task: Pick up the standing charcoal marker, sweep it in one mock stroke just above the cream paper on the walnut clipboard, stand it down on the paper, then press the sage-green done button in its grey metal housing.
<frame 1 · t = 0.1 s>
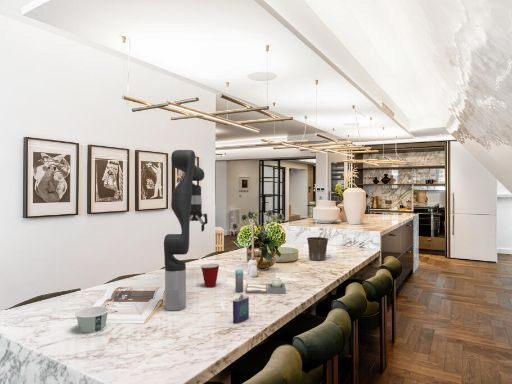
hand: (195, 231, 209), 29 cm above the kitchen island, fingers open, 8 cm apart
done button: (276, 284, 189), point 3 cm above the kitchen island, slide at 0.0 cm
plastic cup: (210, 286, 200), on the kitchen island
food container: (92, 328, 140), on the kitchen island
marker: (239, 291, 189), on the kitchen island
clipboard: (256, 289, 194), on the kitchen island
plant pot: (317, 259, 275), on the kitchen island
button housing: (276, 291, 190), on the kitchen island
flask: (241, 320, 148), on the kitchen island
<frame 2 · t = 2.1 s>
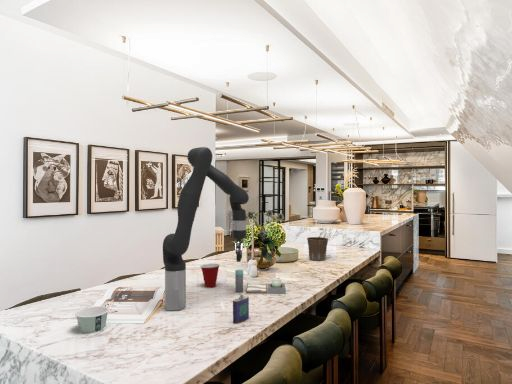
hand: (239, 259, 189), 17 cm above the kitchen island, fingers open, 8 cm apart
nothing on the kitchen island moved.
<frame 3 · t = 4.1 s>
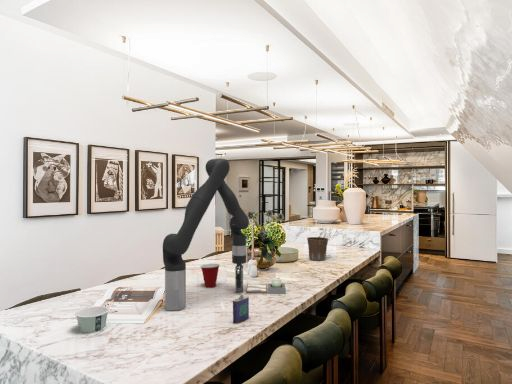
hand: (239, 286, 189), 3 cm above the kitchen island, fingers closed on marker, 4 cm apart
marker: (239, 291, 189), on the kitchen island, touching gripper
everything else where it was.
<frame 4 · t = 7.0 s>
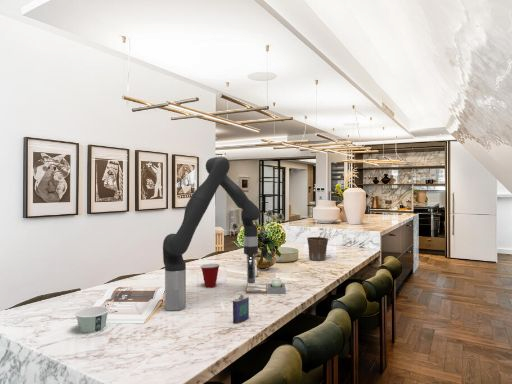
hand: (251, 277, 190), 7 cm above the kitchen island, fingers closed on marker, 4 cm apart
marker: (251, 282, 190), point 5 cm above the kitchen island, touching gripper
everything else where it was.
when the fingers open (4 cm above the kitchen island, at t = 10.0 s): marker stays where it is, resting on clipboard.
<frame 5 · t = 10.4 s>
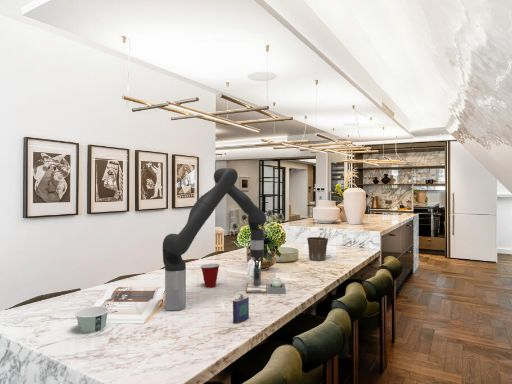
hand: (257, 277, 199), 5 cm above the kitchen island, fingers open, 8 cm apart
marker: (257, 284, 199), point 1 cm above the kitchen island, touching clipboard
everything else where it was.
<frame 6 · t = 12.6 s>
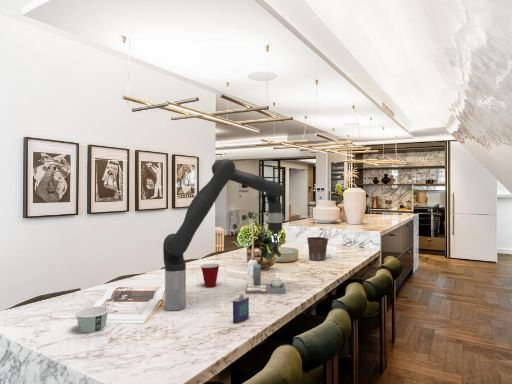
hand: (275, 252, 190), 20 cm above the kitchen island, fingers open, 8 cm apart
nothing on the kitchen island moved.
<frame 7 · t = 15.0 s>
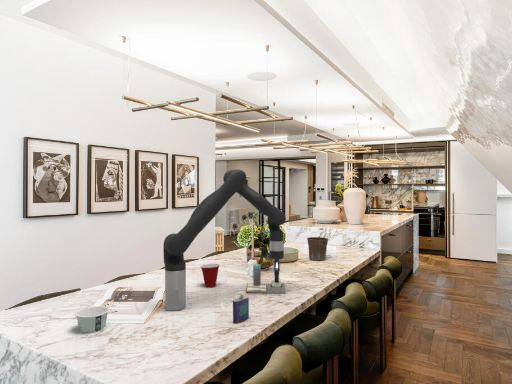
hand: (276, 282, 190), 5 cm above the kitchen island, fingers closed
done button: (276, 286, 189), point 3 cm above the kitchen island, slide at 0.7 cm, touching gripper
everything else where it was.
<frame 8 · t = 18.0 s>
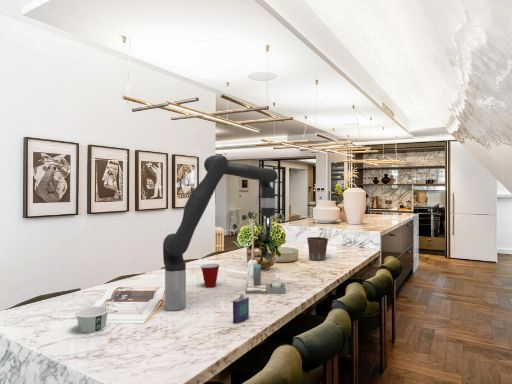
hand: (267, 239, 192), 27 cm above the kitchen island, fingers closed
done button: (276, 286, 189), point 2 cm above the kitchen island, slide at 1.0 cm
everything else where it was.
at the end: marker inside the target area (5.0 cm from its centre), point 0.9 cm above the kitchen island; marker tilted 1°; done button slide at 1.0 cm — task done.
